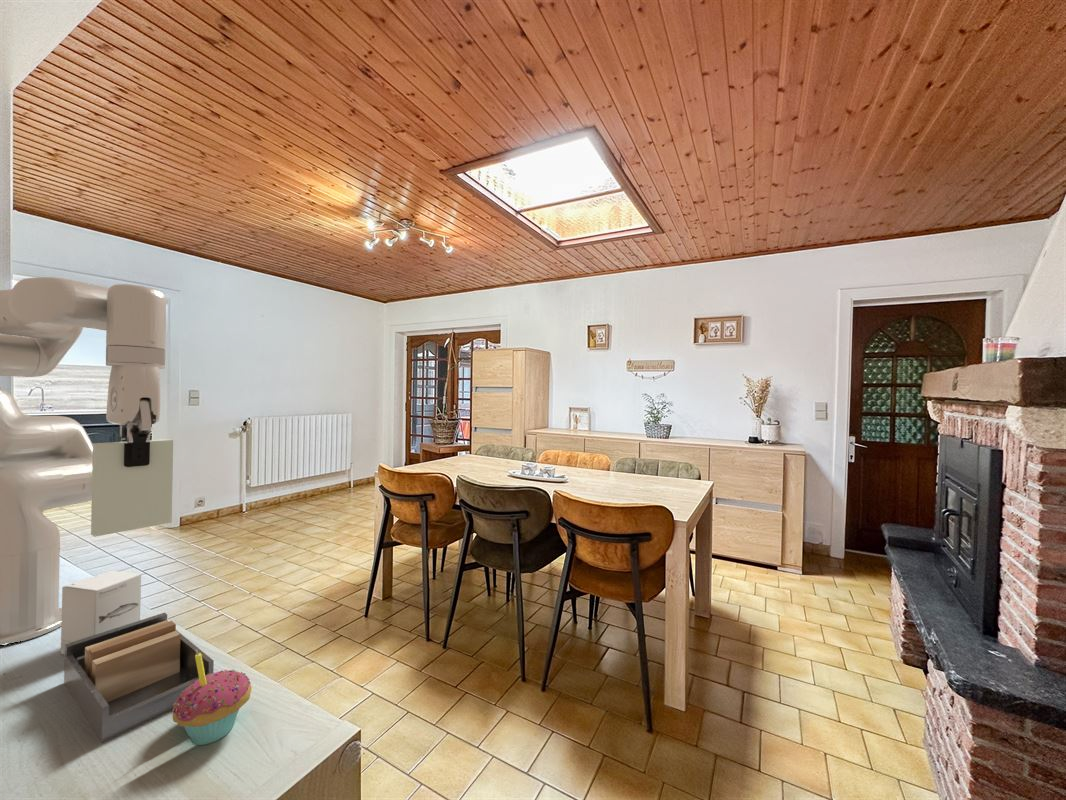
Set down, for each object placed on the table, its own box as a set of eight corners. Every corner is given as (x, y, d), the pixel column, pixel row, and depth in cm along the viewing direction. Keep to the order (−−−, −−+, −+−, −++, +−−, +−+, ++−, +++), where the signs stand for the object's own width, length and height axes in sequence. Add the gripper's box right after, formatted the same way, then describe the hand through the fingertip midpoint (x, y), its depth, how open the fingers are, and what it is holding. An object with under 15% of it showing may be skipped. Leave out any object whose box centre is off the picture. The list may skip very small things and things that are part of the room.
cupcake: (187, 768, 52) (189, 670, 52) (160, 737, 57) (161, 647, 57) (262, 723, 59) (264, 637, 59) (233, 699, 64) (234, 619, 64)
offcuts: (84, 691, 63) (85, 644, 63) (166, 659, 71) (167, 617, 71) (95, 707, 60) (96, 657, 60) (179, 671, 68) (180, 627, 68)
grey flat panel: (91, 534, 71) (92, 443, 71) (167, 520, 79) (169, 439, 79) (94, 536, 70) (96, 444, 69) (171, 522, 78) (173, 440, 78)
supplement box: (92, 667, 71) (94, 590, 71) (58, 660, 72) (60, 585, 72) (141, 642, 78) (142, 573, 78) (109, 637, 80) (111, 569, 80)
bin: (63, 690, 65) (64, 644, 65) (164, 652, 75) (164, 612, 75) (101, 752, 54) (102, 696, 54) (212, 697, 64) (213, 651, 64)
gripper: (93, 358, 75) (91, 463, 75) (121, 355, 67) (118, 473, 67) (148, 361, 82) (146, 458, 82) (181, 359, 73) (178, 467, 73)
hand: (134, 464), depth 74 cm, fingers closed on grey flat panel, 2 cm apart
